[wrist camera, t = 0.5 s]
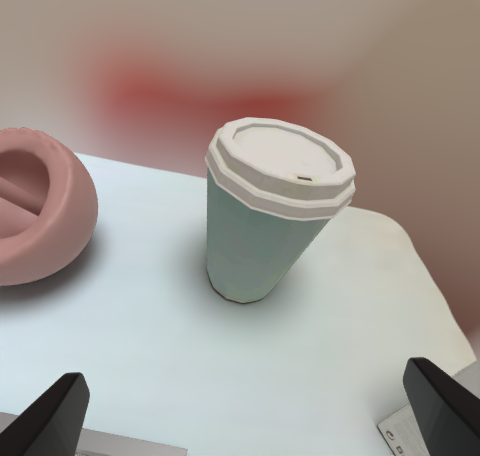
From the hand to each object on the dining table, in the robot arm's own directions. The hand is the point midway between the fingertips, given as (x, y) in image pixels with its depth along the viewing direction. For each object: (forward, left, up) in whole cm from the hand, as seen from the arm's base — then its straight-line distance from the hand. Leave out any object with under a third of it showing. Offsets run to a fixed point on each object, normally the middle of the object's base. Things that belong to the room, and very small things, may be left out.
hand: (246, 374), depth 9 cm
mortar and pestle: (+13, +18, -16) cm, 27 cm away
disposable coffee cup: (+16, -1, -16) cm, 22 cm away
